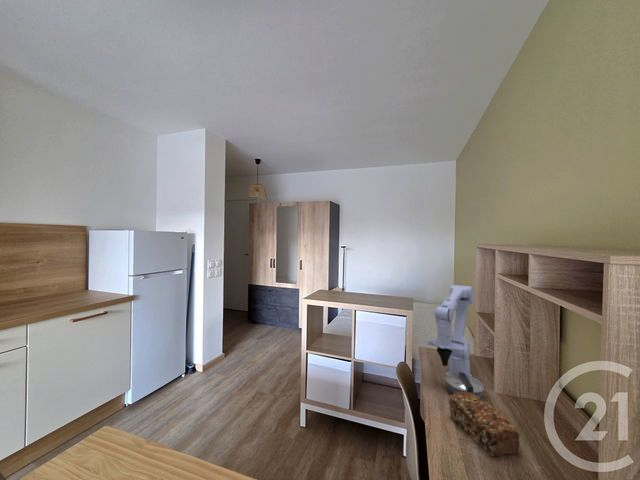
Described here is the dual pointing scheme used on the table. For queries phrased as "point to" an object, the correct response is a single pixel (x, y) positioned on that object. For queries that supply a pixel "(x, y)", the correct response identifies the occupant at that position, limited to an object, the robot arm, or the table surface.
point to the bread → (484, 424)
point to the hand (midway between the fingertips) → (445, 365)
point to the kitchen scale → (453, 390)
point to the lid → (464, 382)
